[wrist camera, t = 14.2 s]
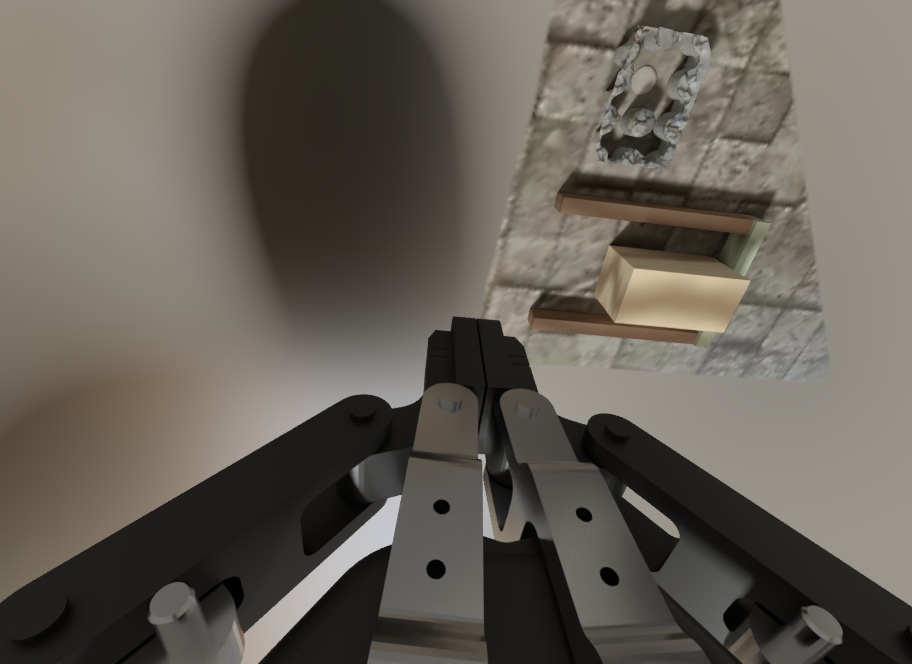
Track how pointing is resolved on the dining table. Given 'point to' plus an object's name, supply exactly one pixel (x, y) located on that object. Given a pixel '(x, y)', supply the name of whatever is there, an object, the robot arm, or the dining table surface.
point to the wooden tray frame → (734, 254)
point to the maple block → (668, 289)
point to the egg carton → (678, 88)
